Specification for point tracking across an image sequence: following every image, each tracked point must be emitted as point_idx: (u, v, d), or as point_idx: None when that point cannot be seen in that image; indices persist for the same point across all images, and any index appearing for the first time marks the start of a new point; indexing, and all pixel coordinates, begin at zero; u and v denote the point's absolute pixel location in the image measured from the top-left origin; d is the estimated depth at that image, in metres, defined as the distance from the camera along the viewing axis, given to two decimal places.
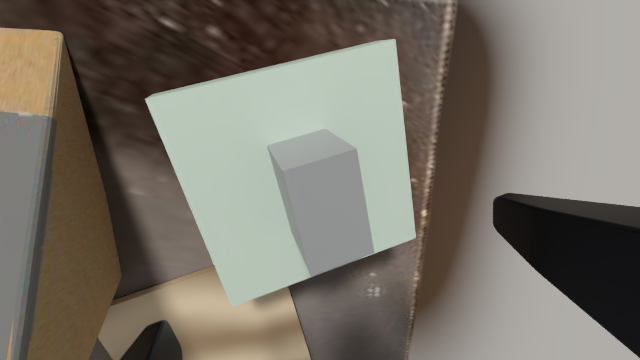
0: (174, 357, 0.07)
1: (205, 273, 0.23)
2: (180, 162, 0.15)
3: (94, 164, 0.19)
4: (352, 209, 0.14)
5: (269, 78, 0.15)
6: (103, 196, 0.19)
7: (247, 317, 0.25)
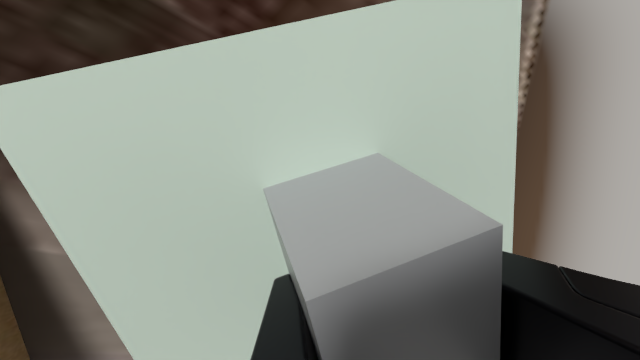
0: None
1: None
2: (75, 231, 0.07)
3: None
4: None
5: (268, 49, 0.07)
6: None
7: None
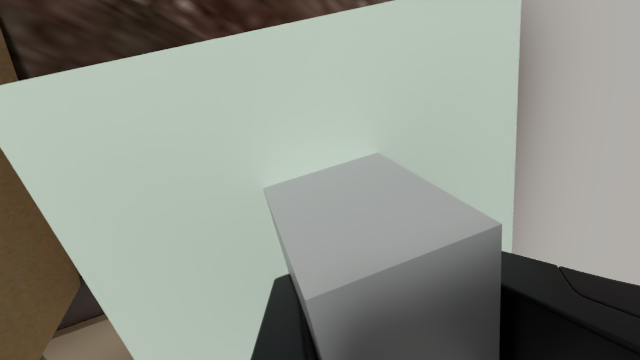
0: None
1: None
2: (75, 230, 0.07)
3: None
4: (468, 359, 0.06)
5: (268, 48, 0.07)
6: None
7: None
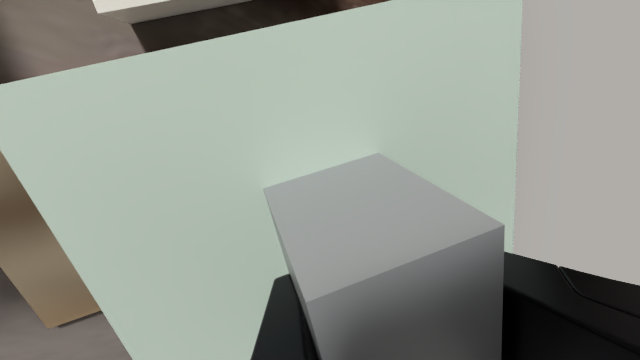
0: None
1: None
2: (74, 231, 0.07)
3: None
4: None
5: (268, 48, 0.07)
6: None
7: None
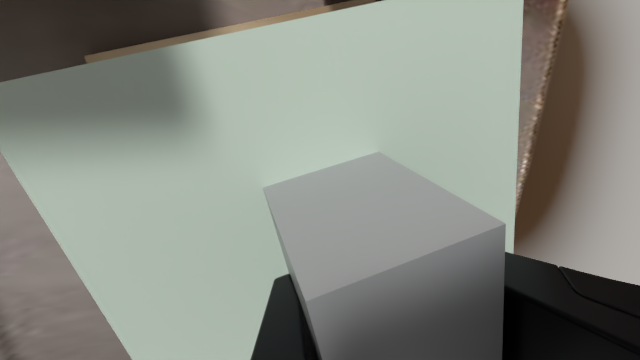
0: None
1: (271, 18, 0.15)
2: (73, 230, 0.07)
3: None
4: None
5: (267, 46, 0.07)
6: None
7: None
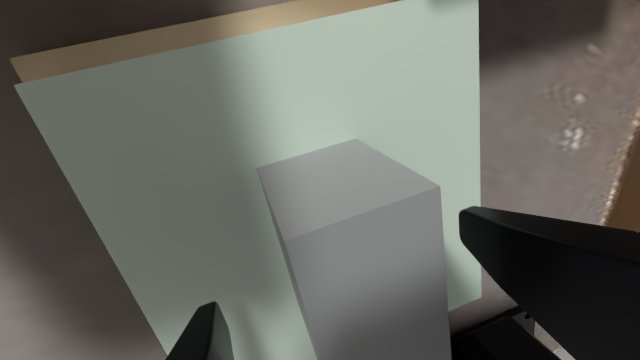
0: (225, 337, 0.07)
1: (304, 0, 0.10)
2: (98, 202, 0.08)
3: None
4: (421, 300, 0.07)
5: (259, 48, 0.08)
6: None
7: None
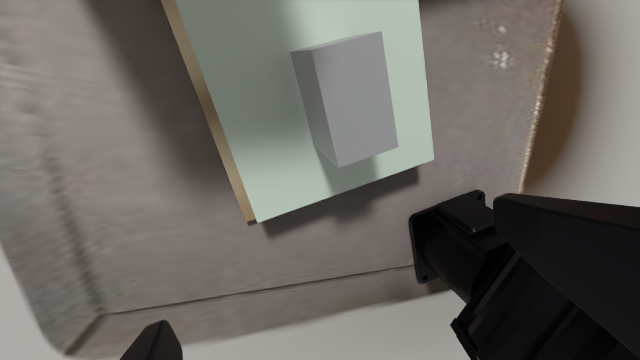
0: (174, 357, 0.07)
1: None
2: (208, 66, 0.15)
3: None
4: (377, 97, 0.14)
5: None
6: None
7: None
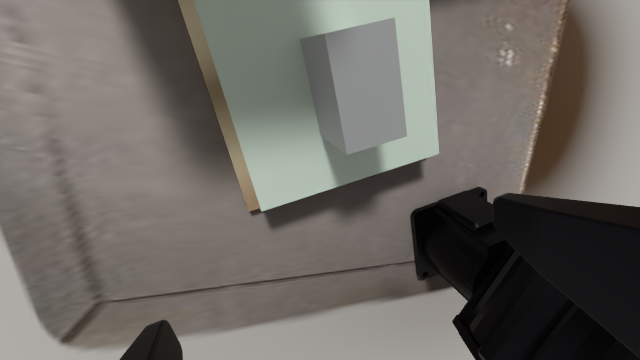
0: (174, 357, 0.07)
1: None
2: (217, 49, 0.15)
3: None
4: (388, 84, 0.14)
5: None
6: None
7: None
